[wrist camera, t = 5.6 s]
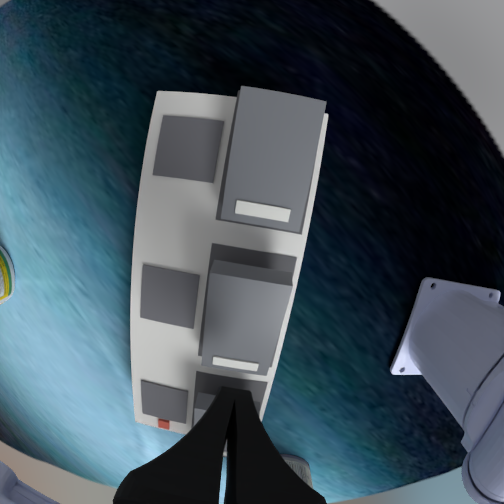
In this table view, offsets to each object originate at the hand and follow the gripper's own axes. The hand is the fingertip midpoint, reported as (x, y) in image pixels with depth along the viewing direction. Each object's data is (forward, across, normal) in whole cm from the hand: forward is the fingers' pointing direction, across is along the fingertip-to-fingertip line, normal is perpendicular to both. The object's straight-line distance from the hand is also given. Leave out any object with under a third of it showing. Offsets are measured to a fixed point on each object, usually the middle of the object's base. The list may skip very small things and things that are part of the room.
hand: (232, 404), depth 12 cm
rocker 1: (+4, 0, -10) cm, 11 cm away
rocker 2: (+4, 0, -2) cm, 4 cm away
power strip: (+8, +2, -2) cm, 9 cm away
